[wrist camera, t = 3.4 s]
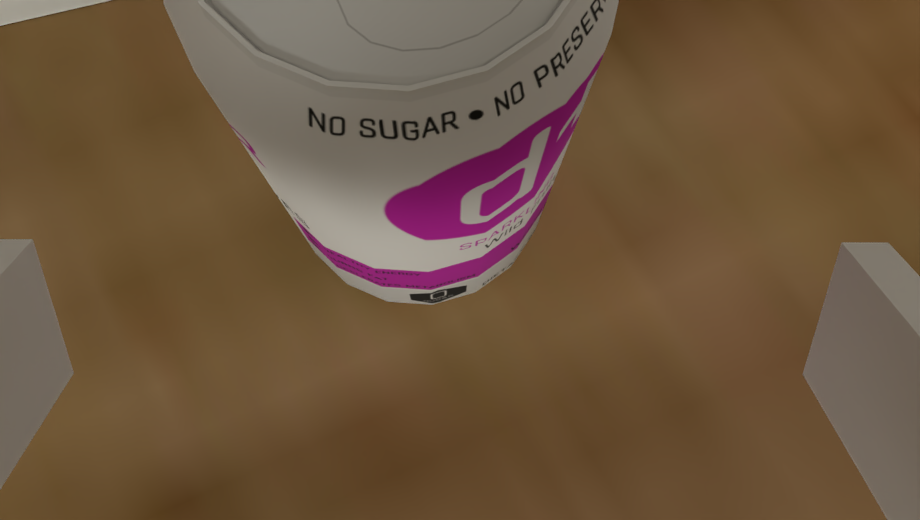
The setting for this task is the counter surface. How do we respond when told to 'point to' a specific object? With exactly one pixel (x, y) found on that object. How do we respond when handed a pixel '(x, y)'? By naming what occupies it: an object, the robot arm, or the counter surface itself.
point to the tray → (37, 8)
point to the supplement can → (403, 123)
